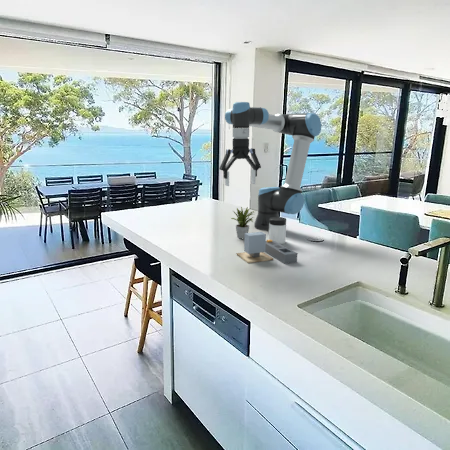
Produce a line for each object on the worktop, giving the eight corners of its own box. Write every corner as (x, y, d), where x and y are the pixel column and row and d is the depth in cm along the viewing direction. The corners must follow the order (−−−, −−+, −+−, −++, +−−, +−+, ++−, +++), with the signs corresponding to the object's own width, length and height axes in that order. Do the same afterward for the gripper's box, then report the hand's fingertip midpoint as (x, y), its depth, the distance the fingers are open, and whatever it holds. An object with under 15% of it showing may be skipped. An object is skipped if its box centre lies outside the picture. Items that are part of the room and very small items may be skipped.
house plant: (254, 242, 185) (255, 210, 181) (227, 241, 187) (227, 208, 183) (258, 235, 198) (259, 205, 194) (232, 233, 201) (232, 203, 197)
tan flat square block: (260, 251, 172) (260, 250, 171) (273, 259, 161) (273, 258, 161) (236, 254, 167) (236, 253, 167) (247, 263, 156) (248, 261, 156)
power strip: (254, 245, 181) (254, 235, 180) (265, 243, 183) (265, 234, 182) (284, 263, 156) (285, 252, 155) (296, 262, 158) (297, 251, 157)
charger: (244, 255, 164) (244, 233, 162) (260, 253, 167) (261, 231, 165) (248, 258, 160) (249, 235, 158) (265, 256, 163) (265, 234, 161)
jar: (265, 242, 186) (266, 219, 183) (271, 238, 193) (272, 216, 190) (282, 245, 181) (283, 221, 178) (288, 241, 188) (289, 218, 185)
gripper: (218, 138, 161) (219, 187, 167) (269, 137, 171) (267, 184, 176) (212, 138, 168) (212, 185, 173) (260, 137, 178) (259, 181, 183)
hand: (240, 184), depth 175 cm, fingers open, 13 cm apart
